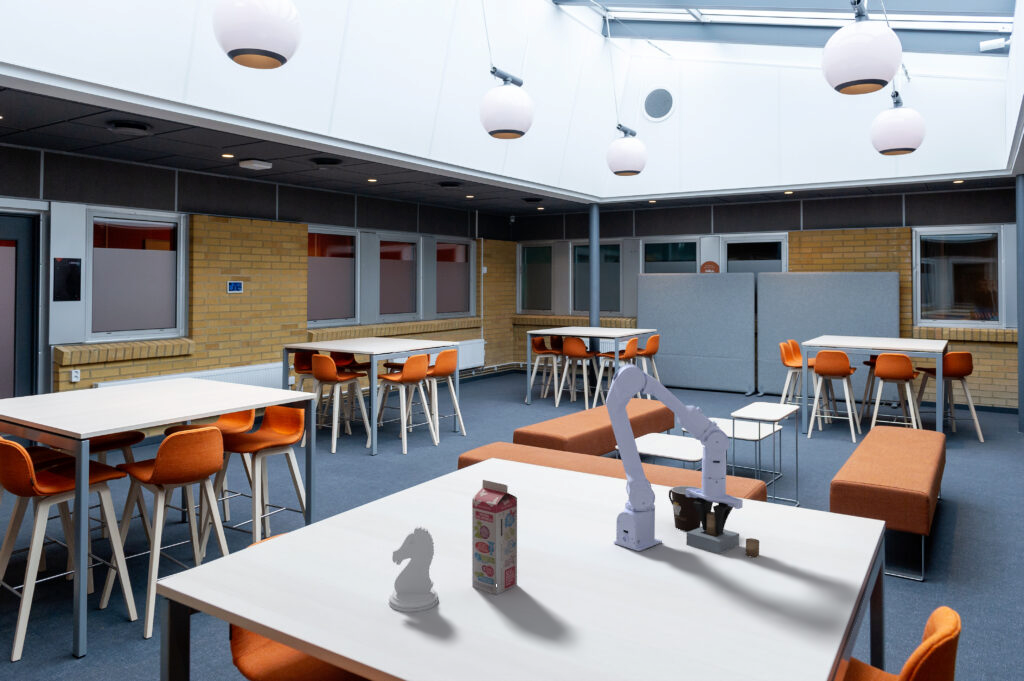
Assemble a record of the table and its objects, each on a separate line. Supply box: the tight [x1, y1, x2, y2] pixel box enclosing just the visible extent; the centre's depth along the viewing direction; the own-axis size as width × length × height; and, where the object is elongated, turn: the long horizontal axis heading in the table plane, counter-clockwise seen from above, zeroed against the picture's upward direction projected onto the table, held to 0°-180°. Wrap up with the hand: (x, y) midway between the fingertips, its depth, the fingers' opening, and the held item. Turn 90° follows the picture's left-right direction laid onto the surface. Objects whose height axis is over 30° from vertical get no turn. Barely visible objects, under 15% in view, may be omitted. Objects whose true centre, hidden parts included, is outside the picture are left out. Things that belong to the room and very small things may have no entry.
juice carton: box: [471, 479, 518, 596], centre depth 149 cm, size 7×7×22 cm
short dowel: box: [745, 537, 760, 558], centre depth 168 cm, size 3×3×4 cm
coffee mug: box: [668, 485, 702, 532], centre depth 189 cm, size 12×9×10 cm
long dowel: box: [706, 511, 719, 537], centre depth 174 cm, size 3×3×6 cm
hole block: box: [685, 526, 740, 555], centre depth 174 cm, size 9×9×3 cm
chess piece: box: [388, 525, 439, 613], centre depth 141 cm, size 10×10×15 cm
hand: (712, 531), depth 174 cm, fingers open, 3 cm apart
